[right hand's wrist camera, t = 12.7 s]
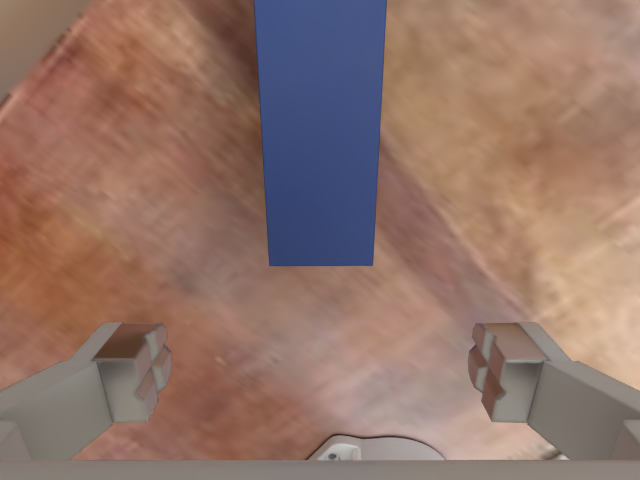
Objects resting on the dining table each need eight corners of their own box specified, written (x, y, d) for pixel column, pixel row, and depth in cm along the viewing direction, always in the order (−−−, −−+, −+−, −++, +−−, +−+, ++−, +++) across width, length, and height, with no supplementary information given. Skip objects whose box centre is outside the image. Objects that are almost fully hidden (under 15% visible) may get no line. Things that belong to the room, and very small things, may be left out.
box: (358, 215, 32) (373, 266, 23) (283, 215, 32) (269, 266, 23) (374, -248, 22) (411, -470, 13) (263, -248, 22) (226, -469, 13)
